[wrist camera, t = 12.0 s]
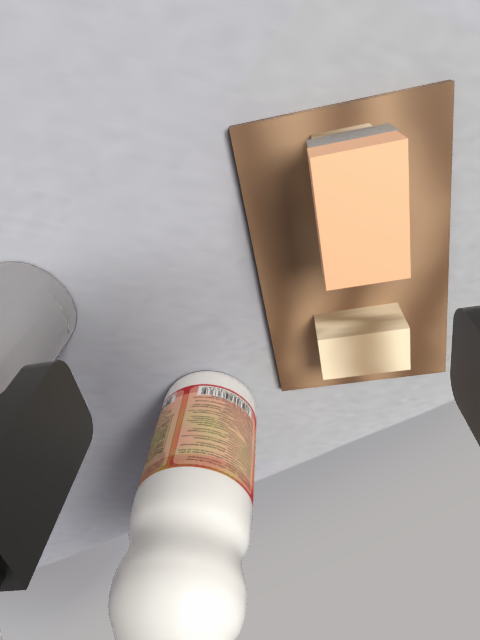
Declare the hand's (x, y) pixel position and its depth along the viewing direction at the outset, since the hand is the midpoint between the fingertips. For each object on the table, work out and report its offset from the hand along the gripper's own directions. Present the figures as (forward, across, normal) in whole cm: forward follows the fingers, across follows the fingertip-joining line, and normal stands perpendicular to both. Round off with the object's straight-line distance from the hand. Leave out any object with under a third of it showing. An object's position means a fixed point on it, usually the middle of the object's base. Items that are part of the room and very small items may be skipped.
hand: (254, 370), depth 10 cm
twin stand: (+28, -6, +10) cm, 30 cm away
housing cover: (+20, -5, +4) cm, 21 cm away
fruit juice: (+28, +9, +24) cm, 38 cm away
